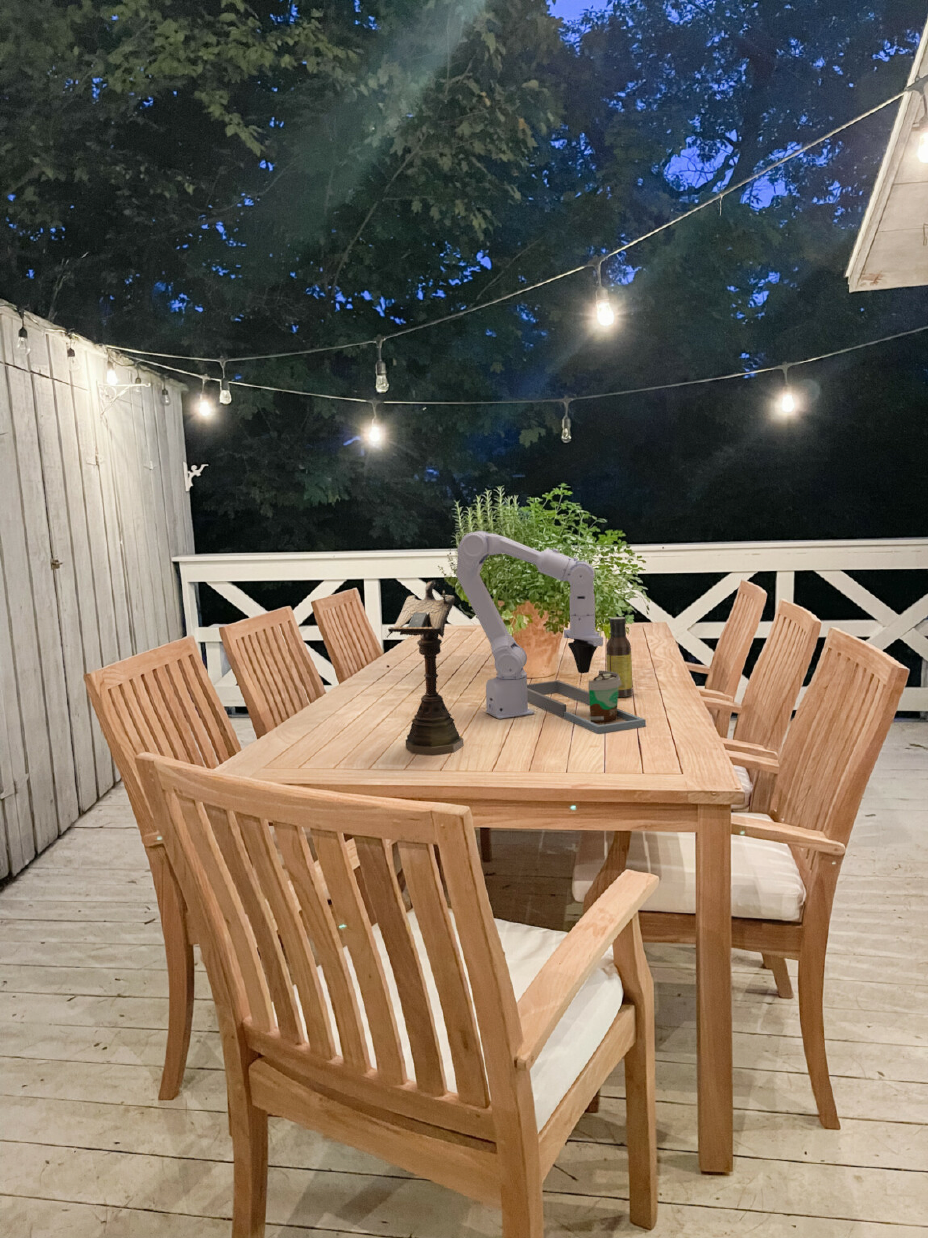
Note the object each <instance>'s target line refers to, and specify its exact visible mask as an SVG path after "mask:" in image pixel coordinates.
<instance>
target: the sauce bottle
mask: <svg viewBox="0 0 928 1238" xmlns="http://www.w3.org/2000/svg"><path fill="white" fill-rule="evenodd" d="M626 624H627V618H626V617H624V616H617V617H616V616H613V617H610V618H609V625H610V633H609V634H610V637H609V639H608V640H607V642H606V646H605V647H606V655H605V657H606V659H605V660H606V671H610V672H615V673H617V674H618V675H619V677H620V680H621V686H619V687H618V698H625V697H630V696H631V695H632V694H633V687H634V686H633V665H632V664H633V663H632V648H631V647H632V645H631V642H630V640H629V639H628V638H627V635H626V634H627V632H626Z"/></svg>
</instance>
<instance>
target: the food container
mask: <svg viewBox="0 0 928 1238" xmlns="http://www.w3.org/2000/svg"><path fill="white" fill-rule="evenodd" d="M587 686H588V688H587V691H589V702H590V706H589V721H591V722H593V723H595V724H597V725H600V724H606V723H607V724H610V723H612V722H613V723H614V721H616V720H617V718H618V717H617V709H618V702H619V697H618V687H619V686H621V680H620V677H619V675H618V674H617V673H615V672H610V671H607V670H601V669H599V670H598V675H597V676H594V678H593V679H592V680H588V685H587Z"/></svg>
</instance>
